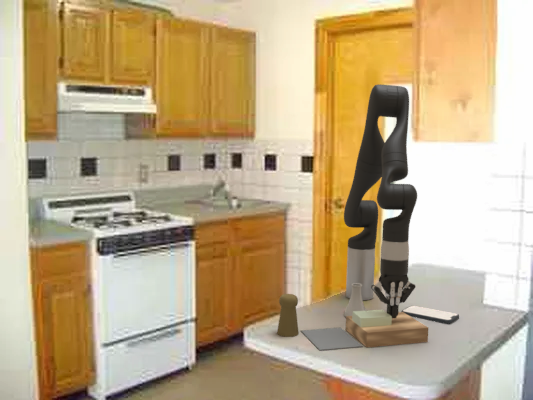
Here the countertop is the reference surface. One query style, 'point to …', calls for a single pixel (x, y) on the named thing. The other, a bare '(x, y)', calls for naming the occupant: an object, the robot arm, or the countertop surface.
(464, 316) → the countertop surface
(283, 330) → the pepper mill
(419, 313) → the phone case
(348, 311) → the flask
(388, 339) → the board
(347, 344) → the mat
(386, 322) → the block
